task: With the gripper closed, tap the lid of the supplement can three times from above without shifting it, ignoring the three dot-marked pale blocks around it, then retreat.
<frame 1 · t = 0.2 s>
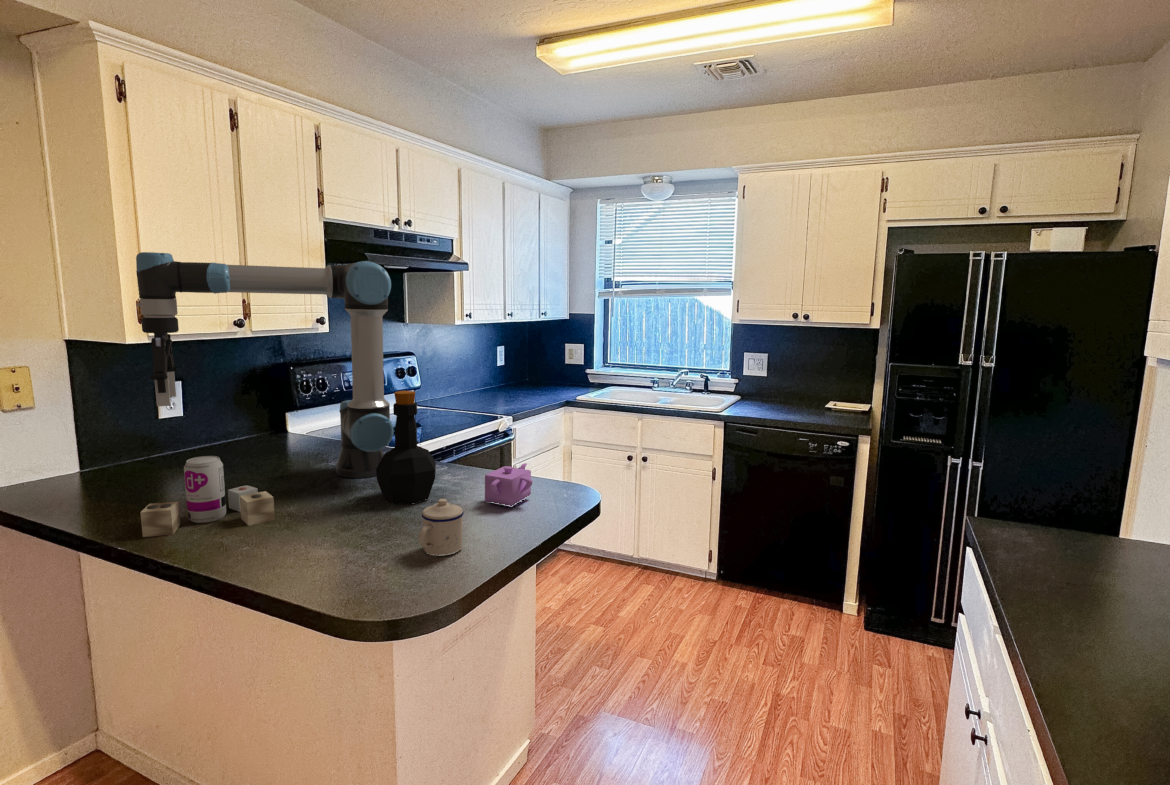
hand: (166, 401, 157), 28 cm above the countertop, fingers open, 13 cm apart
maple block 1: (162, 531, 147), on the countertop
grey plastic block: (243, 507, 164), on the countertop
teapot: (511, 502, 173), on the countertop
teacup with lid: (439, 552, 139), on the countertop
bottle: (407, 498, 174), on the countertop
maple block 2: (257, 519, 155), on the countertop
supplement can: (207, 518, 155), on the countertop
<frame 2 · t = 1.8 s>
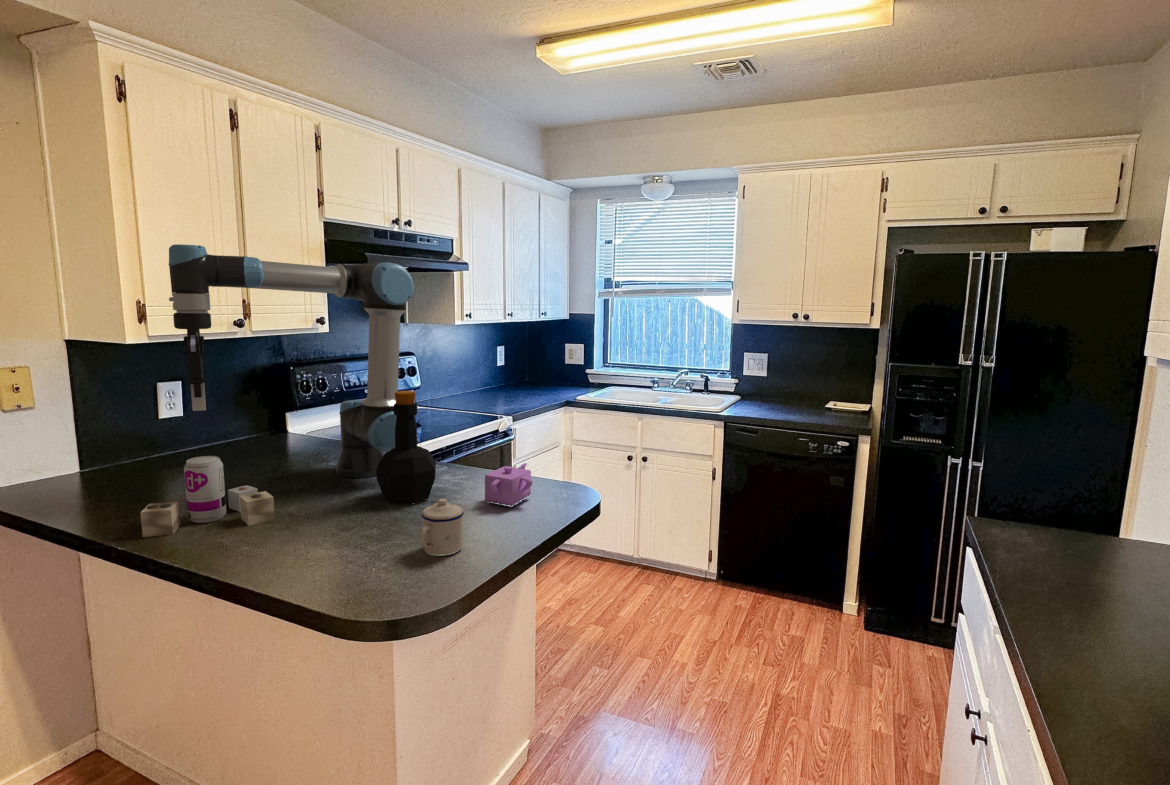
hand: (199, 409, 151), 27 cm above the countertop, fingers closed
nothing on the countertop moved.
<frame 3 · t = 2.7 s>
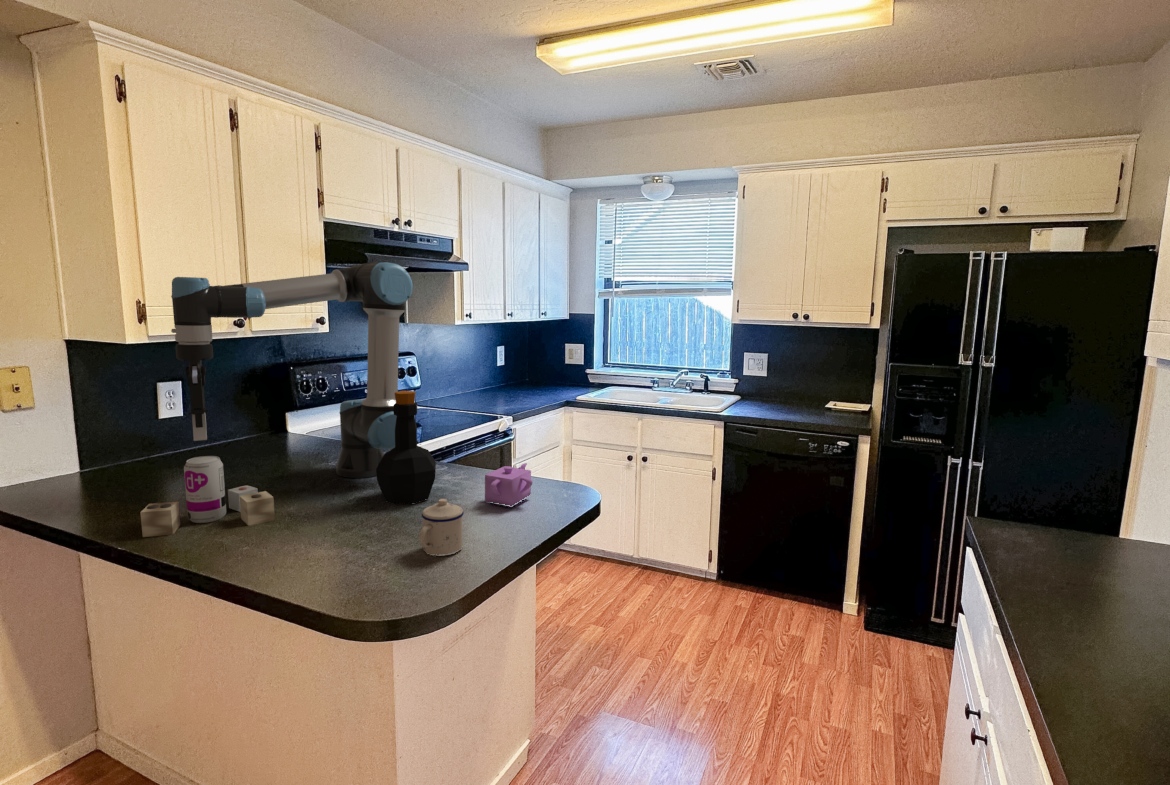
hand: (200, 439, 152), 20 cm above the countertop, fingers closed
nothing on the countertop moved.
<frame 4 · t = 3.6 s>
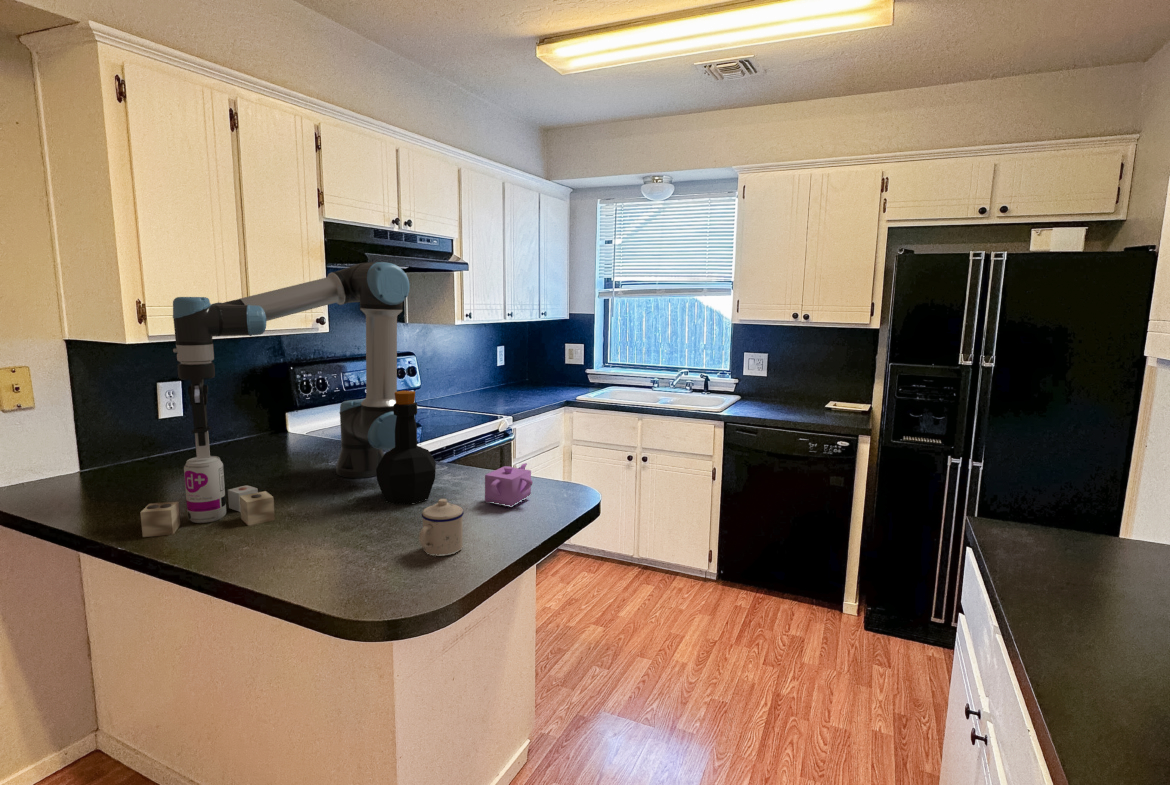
hand: (203, 457, 153), 15 cm above the countertop, fingers closed
nothing on the countertop moved.
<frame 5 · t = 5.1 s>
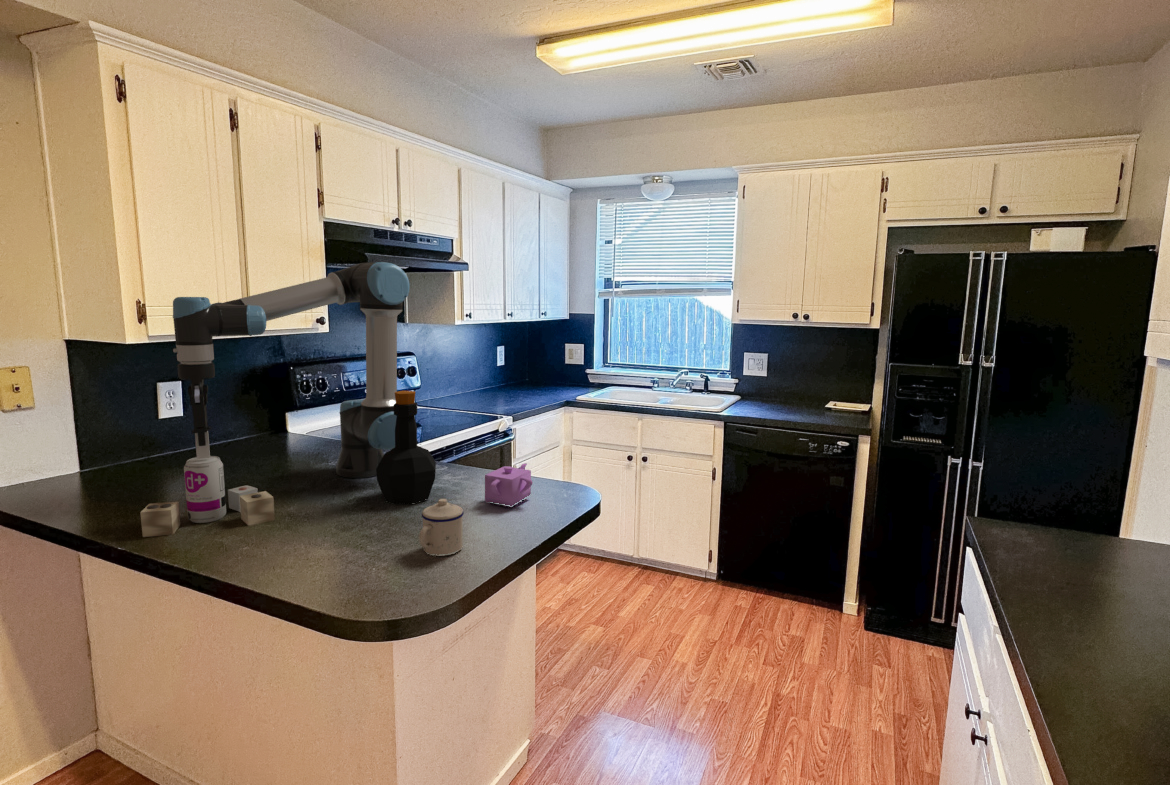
hand: (203, 457, 153), 15 cm above the countertop, fingers closed
nothing on the countertop moved.
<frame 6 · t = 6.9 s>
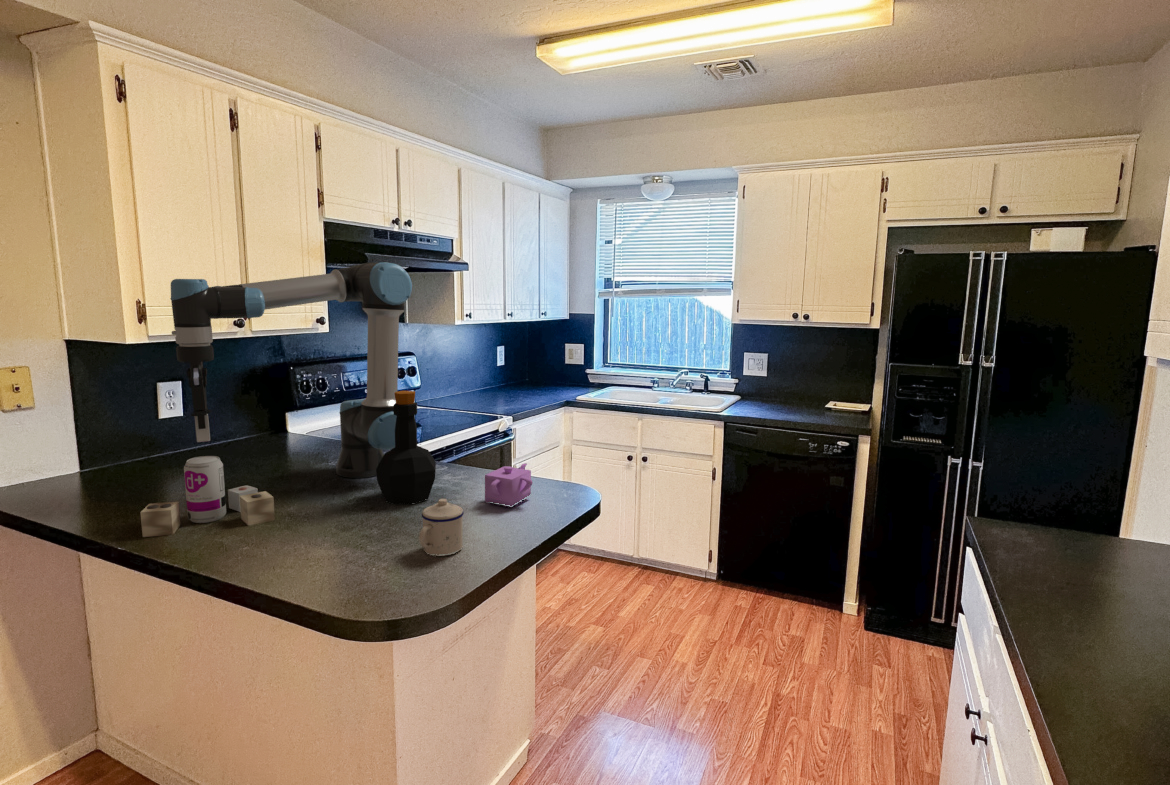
hand: (203, 440, 152), 20 cm above the countertop, fingers closed
nothing on the countertop moved.
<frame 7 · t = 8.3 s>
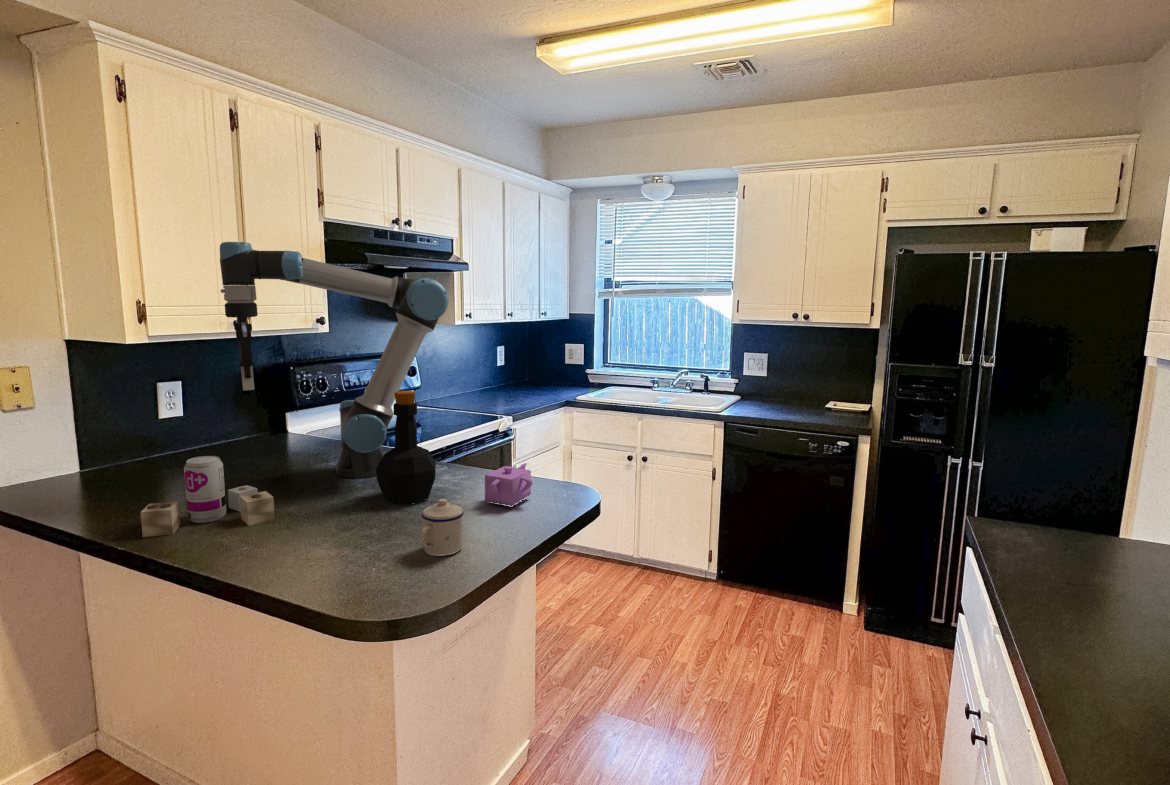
hand: (248, 389, 169), 29 cm above the countertop, fingers closed
nothing on the countertop moved.
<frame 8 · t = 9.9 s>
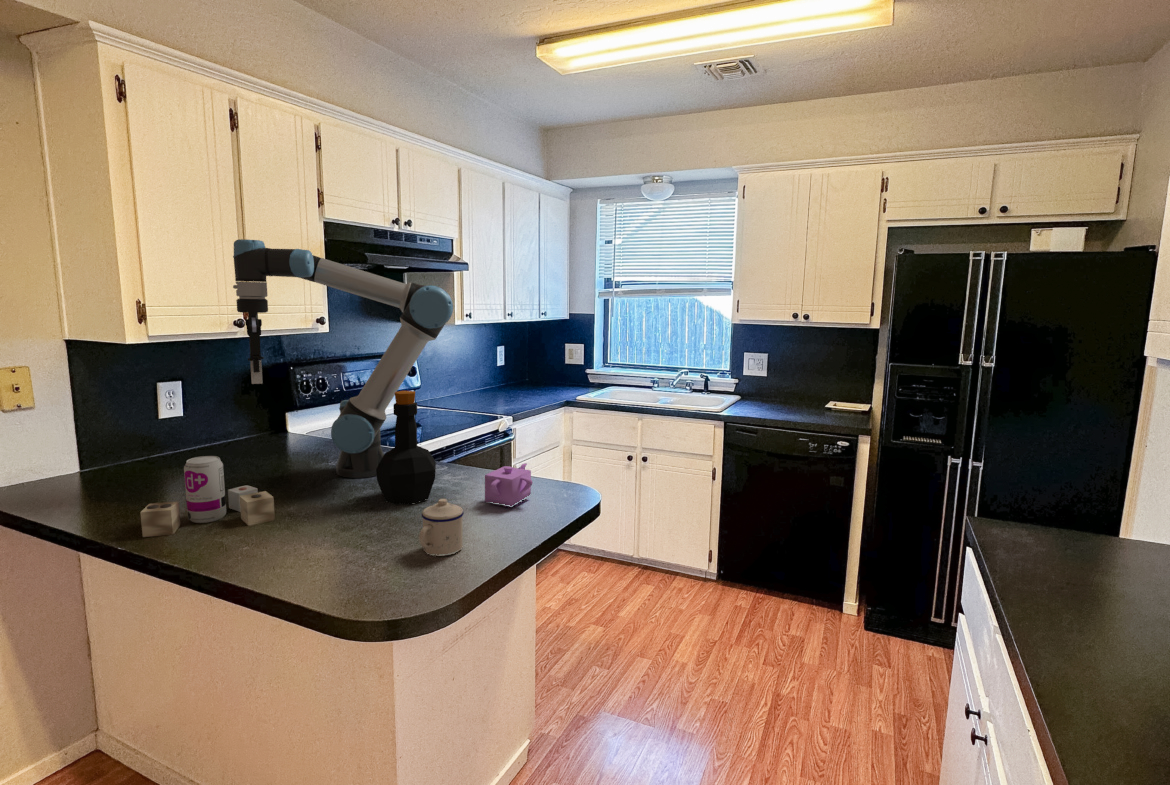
hand: (257, 383, 174), 30 cm above the countertop, fingers closed
nothing on the countertop moved.
at the end: supplement can moved 0.2 cm from its start; supplement can tilted 0°; maple block 1 moved 0.1 cm from its start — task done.
